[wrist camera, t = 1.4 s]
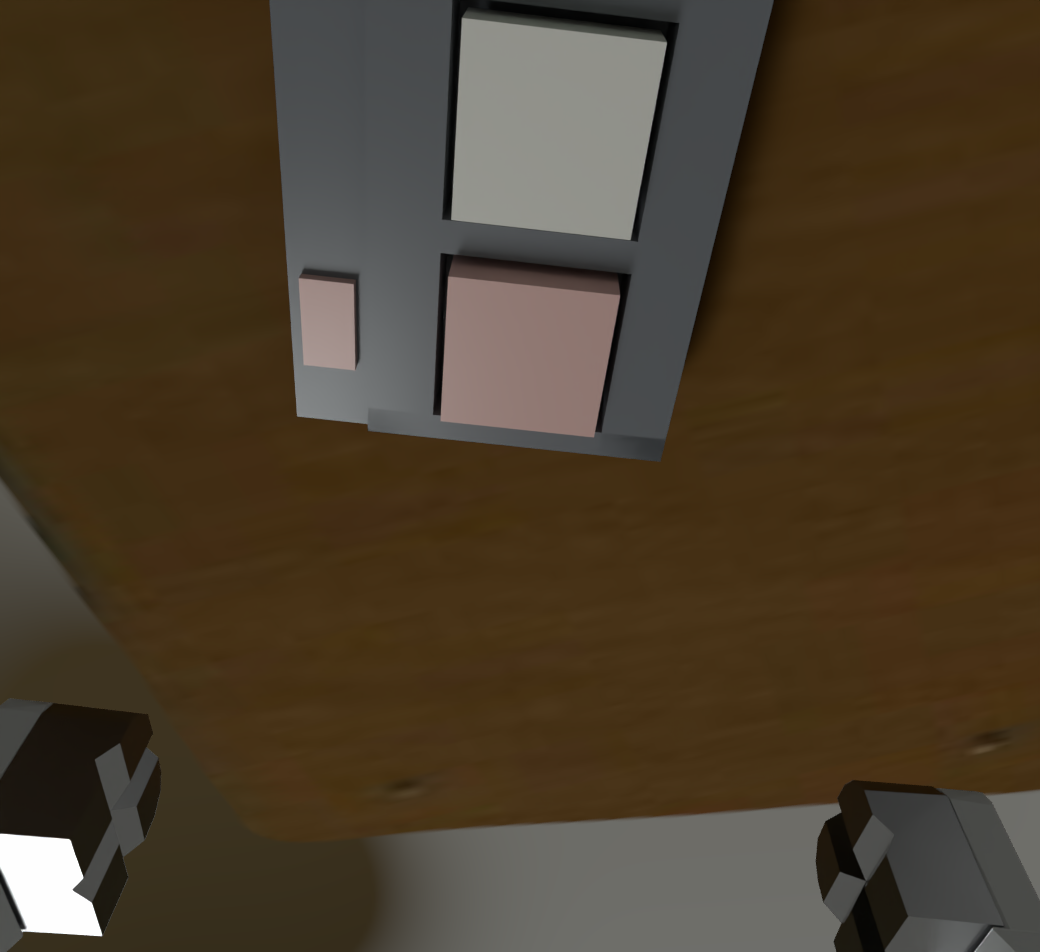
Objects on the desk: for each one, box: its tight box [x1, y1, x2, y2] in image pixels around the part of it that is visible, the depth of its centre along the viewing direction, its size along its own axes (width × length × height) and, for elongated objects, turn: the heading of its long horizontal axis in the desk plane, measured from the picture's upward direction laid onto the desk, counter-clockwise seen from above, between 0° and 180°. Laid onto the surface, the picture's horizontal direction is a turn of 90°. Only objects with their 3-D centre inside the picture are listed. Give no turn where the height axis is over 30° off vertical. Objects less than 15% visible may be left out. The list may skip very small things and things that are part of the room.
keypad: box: [270, 0, 774, 461], centre depth 29 cm, size 25×15×4 cm, turn 174°
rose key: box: [441, 254, 620, 437], centre depth 32 cm, size 6×6×2 cm
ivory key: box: [451, 7, 667, 240], centre depth 27 cm, size 6×6×2 cm
